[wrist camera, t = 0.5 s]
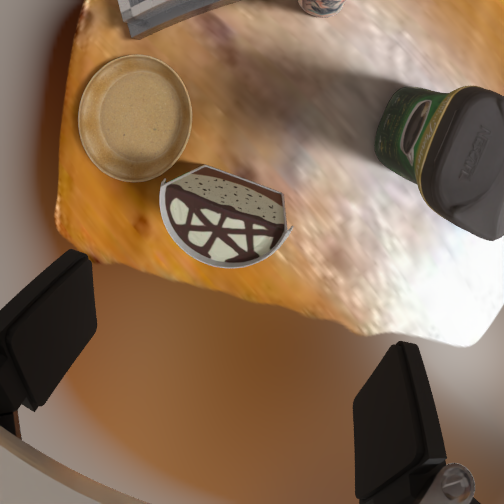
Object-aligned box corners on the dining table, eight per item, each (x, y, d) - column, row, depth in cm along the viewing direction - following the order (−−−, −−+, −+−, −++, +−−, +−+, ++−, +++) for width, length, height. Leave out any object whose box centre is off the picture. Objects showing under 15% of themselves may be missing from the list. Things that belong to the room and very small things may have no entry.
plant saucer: (217, 72, 30) (210, 71, 28) (178, 193, 38) (170, 200, 35) (106, 47, 30) (94, 46, 28) (81, 157, 37) (69, 162, 35)
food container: (179, 207, 38) (142, 244, 29) (192, 160, 35) (155, 184, 26) (276, 244, 38) (266, 292, 30) (296, 198, 35) (292, 235, 27)
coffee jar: (424, 185, 32) (507, 269, 16) (363, 155, 32) (418, 221, 16) (456, 110, 27) (568, 140, 11) (396, 75, 27) (485, 64, 11)
